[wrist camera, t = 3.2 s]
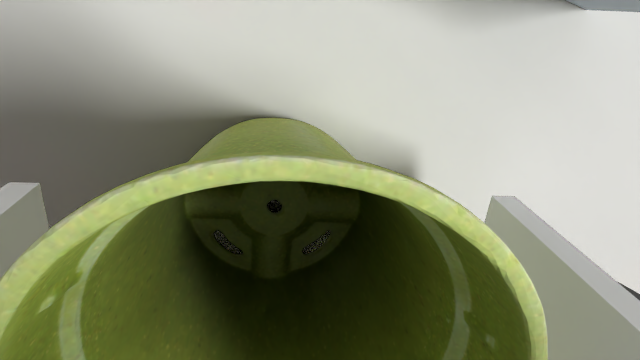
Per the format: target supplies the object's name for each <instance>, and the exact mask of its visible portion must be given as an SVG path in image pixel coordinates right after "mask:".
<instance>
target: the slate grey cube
mask: <svg viewBox="0 0 640 360" xmlns="http://www.w3.org/2000/svg"><path fill="white" fill-rule="evenodd" d="M566 1H568V2H570V3H572V4H574V5H577V6H579V7H581V8H583V9H585V10H602V11H627V12H640V0H566Z"/></svg>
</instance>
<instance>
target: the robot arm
mask: <svg viewBox="0 0 640 360" xmlns="http://www.w3.org/2000/svg"><path fill="white" fill-rule="evenodd" d="M485 224H486V225H487V226H488V227H489V228H490V229H491V230H492V231H493V232H494V233H495V234H496V235H497V236H498V237H499V238H500V239H501V240H502V241H503V242H504V243H505V244H506V245H507V246H508V248H509V249H510V250H511V251H512V253H513V254H514V255H515V257H516V258H517V259H518V261H519V262H520V263H521V265H522V266H523V267H524V269H525V271H526V272H527V274H528V276H529V278H530V279H531V281H532V283H533V285H534V287H535V289H536V291H537V294H538V296H539V299H540V301H541V304H542V307H543V311H544V315H545V320H546V327H547V337H548V360H640V294H638V293H637V292H635V291H633V290H631V289H629V288H628V287H626V286H624V285H622V284H621V283H619V282H617V281H615V280H614V279H613V278H612V277H611V276H609V275H608V274H607V273H606V272H605V271H603V270H602V269H601V268H600V267H599V266H597V265H596V264H595V263H594V262H593V261H591V260H590V259H589V258H588V257H587V256H585V255H584V254H583V253H582V252H581V251H579V250H578V249H577V248H576V247H575V246H573V245H572V244H571V243H570V242H569V241H567V240H566V239H565V238H564V237H563V236H561V235H560V234H559V233H558V232H557V231H555V230H554V229H553V228H552V227H551V226H550V225H548V224H547V223H546V222H545V221H544V220H542V219H541V218H540V217H539V216H538V215H536V214H535V213H534V212H533V211H532V210H530V209H529V208H528V207H527V206H526V205H524V204H523V203H522V202H521V201H520V200H518V199H517V198H516V197H515V196H492V197H491V201H490V204H489V208H488V212H487V215H486V219H485ZM48 230H49V225H48V220H47V216H46V211H45V206H44V201H43V196H42V192H41V187H40V183H21V182H9V183H7V184H6V185H4V186H3V187H2V188H0V278H1V277H2V276H3V275H4V273H5V272H6V271H7V270H8V269H9V268H10V266H11V265H12V264H13V263H14V262H15V261H16V260H17V259H18V258H19V257H20V256H21V255H22V253H23V252H24V251H26V250H27V249H28V248H29V247H30V246H31V245H32V244H33V243H34V242H35V241H36V240H37V239H38V238H40V237H41V236H42V235H43V234H44V233H45V232H47V231H48Z"/></svg>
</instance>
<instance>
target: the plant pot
mask: <svg viewBox="0 0 640 360" xmlns="http://www.w3.org/2000/svg"><path fill="white" fill-rule="evenodd" d="M272 200H278V201H279V203H281V204H282V209H281V210H280V211H279V212H277V213H273V212H270V210H269V209H268V207H267V204H268V203H269V202H270V201H272ZM216 230H219V231H220V232H221V233H223V234H224V236H225V237H226V238H227V239H228V241H229V242H230V243H231V244H233V245H235V247H237V248H239V249H240V250H241V251H243V253H242V254H234V253H232V252H230V251H229V250H227V249H226V248H224V247H223V246H222V245H221V244H220V243H218V242H217V240H216V239H215V238H214V232H215V231H216ZM328 230H330V231H331V232H330V236H329V238H328V239H327V241H326V242H325V243H324V244H323V245H322V246H321V247H320V248H319V249H317V250H315V251H313V252H312V253H307V254H303V252H302V250H303V248H304V247H306V246H308V245H309V244H311V243H312V242H314V241H316V240H317V239H318V238H320V236H321V235H325V233H326V231H328ZM0 360H548V337H547V327H546V320H545V315H544V311H543V307H542V304H541V301H540V299H539V296H538V294H537V291H536V289H535V287H534V285H533V283H532V281H531V279H530V278H529V276H528V274H527V272H526V271H525V269H524V267H523V266H522V265H521V263H520V262H519V261H518V259H517V258H516V257H515V255H514V254H513V253H512V251H511V250H510V249H509V248H508V246H507V245H506V244H505V243H504V242H503V241H502V240H501V239H500V238H499V237H498V236H497V235H496V234H495V233H494V232H493V231H492V230H491V229H490V228H489V227H488V226H487V225H486V224H485V223H484V222H482V221H481V220H480V219H479V218H477V217H476V216H475V215H474V214H473V213H471V212H470V211H469V210H467V209H466V208H465V207H463V206H462V205H460V204H459V203H458V202H456V201H454V200H453V199H451V198H449V197H448V196H446V195H444V194H443V193H441V192H439V191H438V190H436V189H434V188H432V187H430V186H428V185H426V184H424V183H422V182H420V181H418V180H416V179H414V178H411V177H408V176H405V175H403V174H400V173H397V172H394V171H391V170H389V169H386V168H383V167H380V166H377V165H373V164H370V163H366V162H362V161H358V160H356V159H355V158H354V157H352V156H351V155H350V154H349V153H348V152H347V151H346V150H345V149H344V148H343V147H342V146H341V145H340V144H338V143H337V142H336V141H335V140H334V139H333V138H331V137H330V136H329V135H327V134H326V133H324V132H323V131H321V130H320V129H318V128H316V127H314V126H312V125H310V124H307V123H305V122H302V121H297V120H292V119H284V118H257V119H251V120H248V121H244V122H240V123H238V124H236V125H234V126H231V127H229V128H227V129H226V130H224V131H222V132H220V133H219V134H217V135H216V136H215V137H214V138H212V139H211V140H210V141H209V142H208V143H207V144H206V145H204V146H203V147H202V148H201V149H200V150H199V151H198V152H197V153H196V154H195V155H194V156H193V157H192V158H191V159H190V160H189V161H188V162H186V163H182V164H179V165H175V166H171V167H168V168H165V169H162V170H159V171H156V172H152V173H149V174H146V175H144V176H142V177H139V178H137V179H134V180H132V181H129V182H127V183H125V184H122V185H120V186H117V187H115V188H113V189H112V190H110V191H108V192H106V193H104V194H102V195H100V196H98V197H96V198H94V199H92V200H90V201H89V202H87V203H86V204H84V205H83V206H81V207H80V208H78V209H77V210H75V211H74V212H72V213H71V214H69V215H68V216H66V217H65V218H64V219H62V220H61V221H59V222H58V223H56V224H55V225H53V226H52V227H51V228H50V229H49V230H48V231H47V232H45V233H44V234H43V235H42V236H41V237H40V238H38V239H37V240H36V241H35V242H34V243H33V244H32V245H31V246H30V247H29V248H28V249H27V250H26V251H24V252H23V253H22V255H21V256H20V257H19V258H18V259H17V260H16V261H15V262H14V263H13V264H12V265H11V266H10V268H9V269H8V270H7V271H6V272H5V273H4V275H3V276H2V277H1V278H0Z"/></svg>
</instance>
